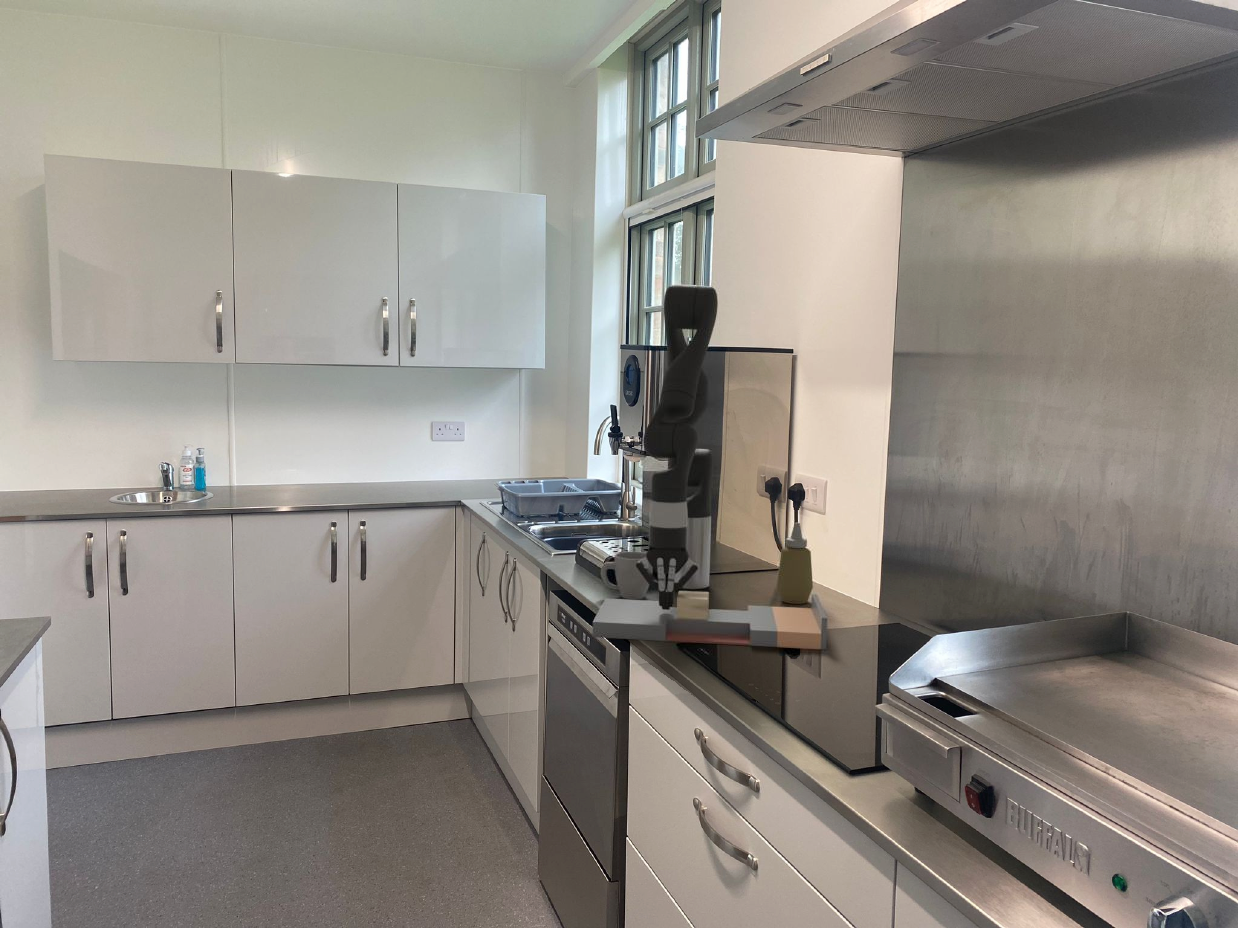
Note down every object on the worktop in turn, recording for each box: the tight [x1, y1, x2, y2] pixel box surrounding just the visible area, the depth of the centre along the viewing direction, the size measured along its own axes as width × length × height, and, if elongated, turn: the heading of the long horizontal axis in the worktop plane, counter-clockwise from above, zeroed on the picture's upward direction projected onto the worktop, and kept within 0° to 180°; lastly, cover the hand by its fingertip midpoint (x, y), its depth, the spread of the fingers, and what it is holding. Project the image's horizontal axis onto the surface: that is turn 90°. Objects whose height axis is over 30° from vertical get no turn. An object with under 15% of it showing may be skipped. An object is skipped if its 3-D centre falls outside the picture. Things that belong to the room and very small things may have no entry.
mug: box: [600, 551, 654, 600], centre depth 196 cm, size 12×9×10 cm
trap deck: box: [592, 593, 828, 650], centre depth 171 cm, size 18×44×6 cm, turn 83°
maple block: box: [676, 590, 710, 620], centre depth 170 cm, size 6×6×4 cm
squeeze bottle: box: [776, 522, 814, 605], centre depth 194 cm, size 8×8×18 cm
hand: (665, 608), depth 172 cm, fingers closed
